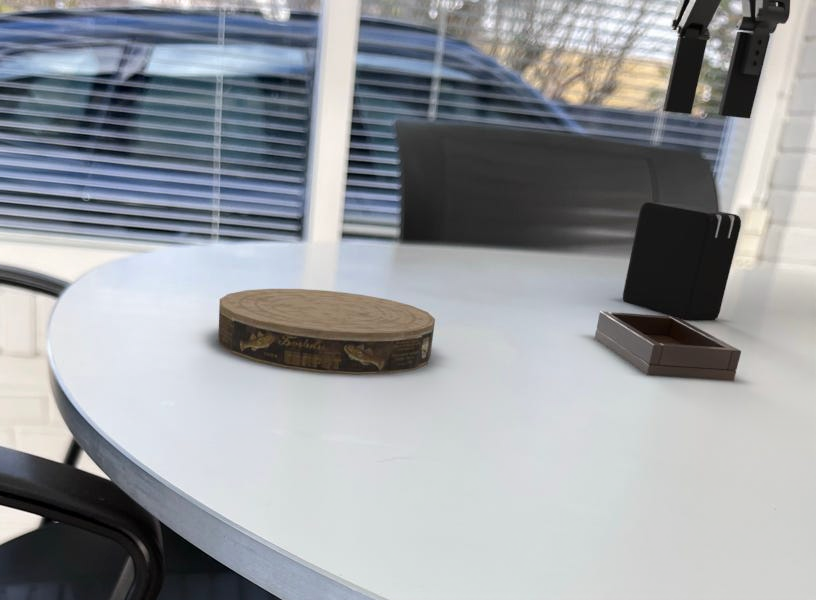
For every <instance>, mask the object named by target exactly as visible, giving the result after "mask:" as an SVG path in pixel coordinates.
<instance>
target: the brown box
mask: <svg viewBox="0 0 816 600" xmlns="http://www.w3.org/2000/svg"><path fill="white" fill-rule="evenodd" d="M594 339H595V340H596V341H597V342H598V343H600V344H602V346H605V347H606V348H607V349H609V350H610V351H612V352H613V353H615V354H616V355H618V356H619V357H620V358H622V359H623V360H625V361H626V362H627V363H629V364H631V365H632V366H633V367H634V368H636V369H638V370H639V371H640V372H642V373H643V374H645V376H653V377H666V378H667V377H668V378H684V379H699V380H711V381H713V380H714V381H725V382H726V381H730V382H734V381H735V378H736V374H737V369H738V365H739V361H740V358H741V354H742V350H740V349H738V348H737V347H735V346H732V345H731V344H730V343H727V342H725V341H723V340H721V339H719V338H717V337H716V336H714V335H712V334H711V333H708V332H706V331H705V330H702V329H700V328H698V327H697V326H695V325H693V324H691V323H690V322H688V321H686V320H683V319H680V318H678V317H673V316H669V315H655V314H644V313H643V314H641V313H630V312H617V311H616V312H615V311H601V310H600V311H599V314H598V319H597V324H596V329H595V334H594Z"/></svg>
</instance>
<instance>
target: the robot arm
mask: <svg viewBox="0 0 816 600" xmlns="http://www.w3.org/2000/svg"><path fill="white" fill-rule="evenodd" d="M721 2H722V0H679V1H678V3H677V6H676V9H675V12H674V15H673V18H672V20H671V22H670V29H671V31H676V33H675V35H676V37H677V41H676V45H675V51H674V55H673V60H672V65H671V69H670V74H669V80H668V84H667V89H666V94H665V99H664V103H663V108H662V112H666V113H675V114H676V113H677V114H678V113H679V114H685V115H692V111H693V106H694V102H695V99H696V94H697V89H698V85H699V80H700V76H701V75H700V74H701V71H702V66H703V62H704V57H705V53H706V48H707V43H708V41H709V40H711V34H710V31H709V26H710V24H711V23H712V20H713V18H714V17H715V14H716V13H717V10H718V8H719V7H720V4H721ZM741 11H742V16H741V18H740V19H739V21H738V23H737V24H736V25H735V29H736V30H738V31H736V35H735V39H734V43H733V49H732V53H731V57H730V61H729V66H728V70H727V74H726V78H725V82H724V87H723V91H722V95H721V100H720V104H719V108H718V112H717V116H722V117H733V118H740V119H751V115H752V111H753V107H754V103H755V100H756V95H757V91H758V87H759V83H760V79H761V75H762V71H763V66H764V62H765V58H766V55H767V50H768V46H769V42H770V38H771V35H772V34H774V33H775V31H776V29H777V26H778V25H779V24H780V25H781V24H782V25H785V24H787V22H788V21H789V18H790V15H791V14H790V13H791V0H741Z"/></svg>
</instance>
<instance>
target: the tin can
mask: <svg viewBox="0 0 816 600" xmlns="http://www.w3.org/2000/svg"><path fill="white" fill-rule="evenodd" d="M218 309H219V310H218V333H217V334H218V336H217V337H218V343H219V346H220V347H221V348H223V349H225V350H226V351H228V352H229V353H230V354H233V355H236V356H238V357H240V358H244V359H247V360H250V361H253V362H255V363H256V362H257V363H261V364H265V365H270V366H274V367H275V366H276V367H279V368H284V369H290V370H298V371H306V372H313V373H319V374H320V373H322V374H338V375H357V376H359V375H387V374H388V375H389V374H397V373H401V372H409V371H414V370H416V369H418V368H421V367H424V366H427V365H428V364H429V361H430V359H431V356H432V355H431V354H432V346H433V340H434V339H433V338H434V330H435V323H436V318H435V317H434V316H433V315H432V314H430V313H429V311H426V310H423V309H421V308H419V307H416V306H413V305H411V304H408V303H403V302H399V301H396V300H392V299H386V298H381V297H376V296H370V295H365V294H358V293H350V292H342V291H333V290H323V289H322V290H321V289H307V288H260V289H245V290H241V291H236V292H232V293H231V292H230V293H227V294H225V296H222V297H221V298H219V308H218Z"/></svg>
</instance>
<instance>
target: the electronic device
mask: <svg viewBox="0 0 816 600" xmlns="http://www.w3.org/2000/svg"><path fill="white" fill-rule="evenodd" d="M740 217H741V216H739V215H737V214H735V213H730V212H724V211H719V210H714V209H708V208H703V207H696V206H691V205H685V204H680V203H667V202H649V201H647V202H644V203H643V204H642V205H641V207H640V210H639V213H638V218H637V222H636V223H637V224H636V228H635V232H634V237H633V238H634V239H633V242H632V248H631V253H630V257H629V262H628V267H627V272H626V277H625V281H624V288H623V292H622V300H623V302H624V303H628V304H631V305H634V306H637V307H640V308H643V309H647V310H650V311H654V312H657V313H660V314H663V315H665V316H669V317H678V318H680V319H682V320H683V321H715V320H716V319H718V317H719V315H720V313H721V309H722V304H723V301H724V297H725V292H726V288H727V284H728V279H729V276H730V271H731V269H732V268H731V267H732V264H733V260H734V256H735V253H736V247H737V243H738V239H739V235H740V230H741V227H742V219H741V218H740Z"/></svg>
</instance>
